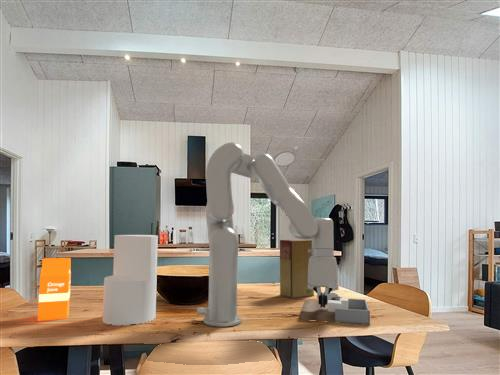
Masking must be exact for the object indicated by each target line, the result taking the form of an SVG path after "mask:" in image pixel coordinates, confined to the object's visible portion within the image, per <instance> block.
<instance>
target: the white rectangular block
mask: <svg viewBox="0 0 500 375" xmlns="http://www.w3.org/2000/svg"><path fill="white" fill-rule="evenodd" d="M327 302H328V311H329V312H335V308H336V309H341V306H342V303H341V301H336V300H328V301H327Z"/></svg>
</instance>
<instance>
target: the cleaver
mask: <svg viewBox="0 0 500 375" xmlns="http://www.w3.org/2000/svg"><path fill="white" fill-rule="evenodd" d="M316 294H317V293H316ZM322 295H324V292H322ZM316 298H317V299H318V300H319V298H318V294H317V295H316ZM336 298H343V297H341V296H339V295H338V294H337V293H335V292H330V293H329V294H328V295H327V302H328V300H336Z"/></svg>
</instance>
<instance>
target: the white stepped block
mask: <svg viewBox="0 0 500 375" xmlns="http://www.w3.org/2000/svg"><path fill="white" fill-rule="evenodd" d="M158 244H159V235H156V234H155V235H154V234H116V235H115V234H114V244H113V247H114V248H113V266H112V267H113V269H112V275H109V276H105V277H104V278H103V298H102V323H104V324H107V325H109V324H112V325H111V326H121V325H123V326H131V325H130V324H136V325H141V324H140V323H142V324H146V323H149V322H152V321H154V320H155V319H156V317H157V316H156V314H157V312H156V311H157V285H158V284H157V279H158V277H157V276H158V247H159V246H158ZM154 318H155V319H154ZM153 319H154V320H153ZM151 320H152V321H151ZM148 321H149V322H148ZM145 322H146V323H145Z"/></svg>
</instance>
